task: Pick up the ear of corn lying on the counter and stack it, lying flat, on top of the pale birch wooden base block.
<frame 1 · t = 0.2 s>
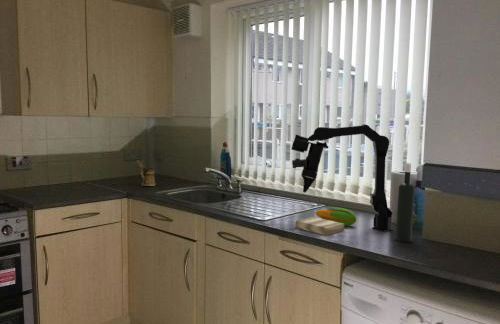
hand: (304, 190, 189), 15 cm above the worktop, tool pointing down, fingers open, 9 cm apart
corn: (334, 224, 194), on the worktop
wooden mug: (145, 186, 284), on the worktop
wine bottle: (403, 240, 170), on the worktop
birch base: (319, 229, 184), on the worktop
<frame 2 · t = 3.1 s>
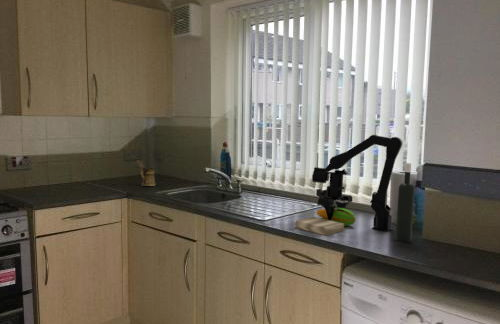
hand: (334, 219, 194), 2 cm above the worktop, tool pointing down, fingers closed on corn, 7 cm apart
corn: (334, 224, 195), on the worktop, touching gripper
everything else where it was.
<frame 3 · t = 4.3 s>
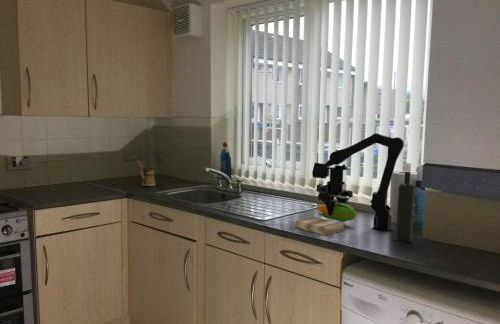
hand: (334, 214, 194), 4 cm above the worktop, tool pointing down, fingers closed on corn, 7 cm apart
corn: (334, 219, 194), point 2 cm above the worktop, touching gripper
everything else where it was.
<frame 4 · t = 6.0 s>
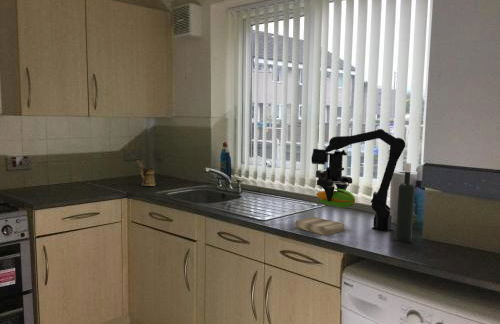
hand: (334, 200, 192), 10 cm above the worktop, tool pointing down, fingers closed on corn, 7 cm apart
corn: (333, 205, 193), point 8 cm above the worktop, touching gripper
everything else where it was.
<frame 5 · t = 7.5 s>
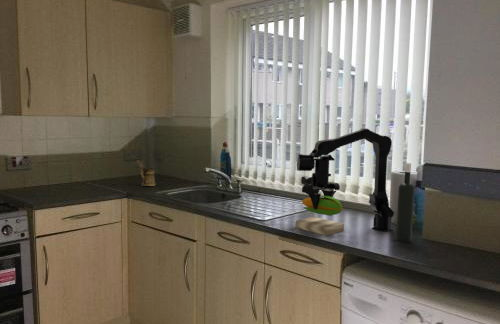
hand: (320, 208, 183), 9 cm above the worktop, tool pointing down, fingers closed on corn, 7 cm apart
corn: (320, 213, 183), point 7 cm above the worktop, touching gripper
everything else where it was.
when the fingers open (6 cm above the worktop, at t = 8.9 s): corn drops 1 cm, resting on birch base.
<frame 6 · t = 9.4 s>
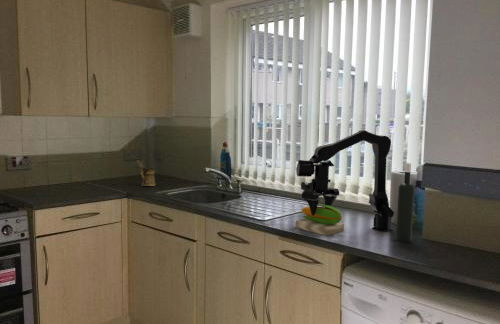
hand: (320, 213, 183), 6 cm above the worktop, tool pointing down, fingers open, 9 cm apart
corn: (319, 222, 183), point 3 cm above the worktop, touching birch base
everything else where it was.
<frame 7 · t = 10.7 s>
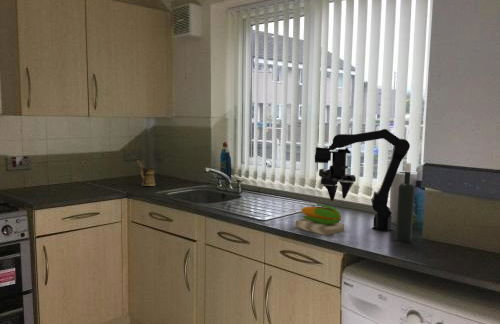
hand: (338, 199, 189), 12 cm above the worktop, tool pointing down, fingers open, 9 cm apart
nothing on the worktop moved.
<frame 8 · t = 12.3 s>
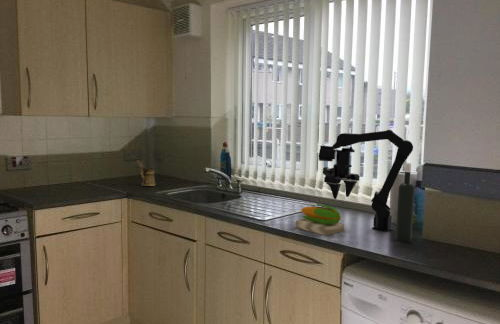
hand: (341, 197, 191), 12 cm above the worktop, tool pointing down, fingers open, 9 cm apart
nothing on the worktop moved.
at the end: corn inside the target area on the birch base (0.3 cm from its centre), point 2.8 cm above the birch base's base; corn touching birch base; the gripper is holding nothing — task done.
